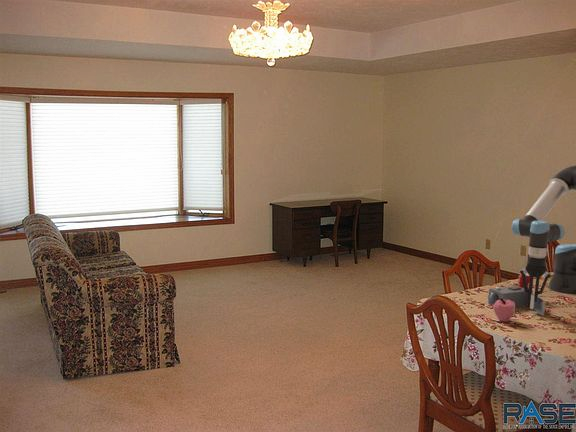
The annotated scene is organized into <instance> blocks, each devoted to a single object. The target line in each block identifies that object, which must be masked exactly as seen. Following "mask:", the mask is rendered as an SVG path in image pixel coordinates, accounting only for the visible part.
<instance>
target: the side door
mask: <svg viewBox="0 0 576 432" xmlns="http://www.w3.org/2000/svg"><path fill="white" fill-rule="evenodd" d="M532 293H534V294H535V291H534V290H532ZM530 302H531V301H528V305H527V306H529V307H530ZM546 306H547V305H546V300H545V299H544V298H542V297H541V296H540V295H538V297H537V302H534V308H533V309H532V310H534V311H535V312H536V313H537V314H539V315H540V316H541V317H544V316H545V312H546V311H545V310H546Z"/></svg>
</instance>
